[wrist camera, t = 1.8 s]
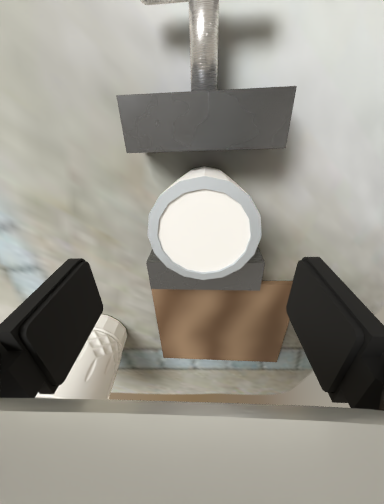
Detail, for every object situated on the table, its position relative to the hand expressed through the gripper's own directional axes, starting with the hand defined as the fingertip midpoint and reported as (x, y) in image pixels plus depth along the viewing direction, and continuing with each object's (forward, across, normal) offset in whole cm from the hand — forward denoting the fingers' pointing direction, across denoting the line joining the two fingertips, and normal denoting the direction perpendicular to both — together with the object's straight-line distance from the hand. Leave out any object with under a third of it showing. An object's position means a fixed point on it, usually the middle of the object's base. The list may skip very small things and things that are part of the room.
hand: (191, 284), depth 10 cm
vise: (+11, -1, -3) cm, 11 cm away
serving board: (+11, -3, +15) cm, 19 cm away
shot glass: (+11, -1, -1) cm, 11 cm away
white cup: (+12, +13, +17) cm, 25 cm away
